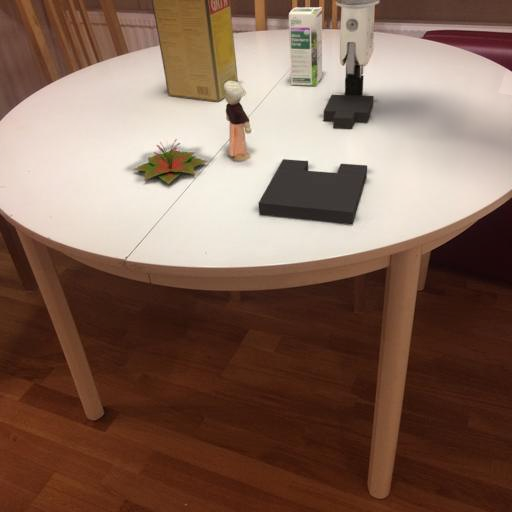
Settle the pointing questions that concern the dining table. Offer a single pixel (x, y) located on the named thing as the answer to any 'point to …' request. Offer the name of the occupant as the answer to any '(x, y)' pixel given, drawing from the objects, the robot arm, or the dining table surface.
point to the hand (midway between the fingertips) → (353, 96)
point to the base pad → (314, 193)
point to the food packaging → (196, 47)
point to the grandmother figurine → (236, 121)
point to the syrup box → (305, 45)
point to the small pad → (348, 110)
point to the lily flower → (170, 164)
